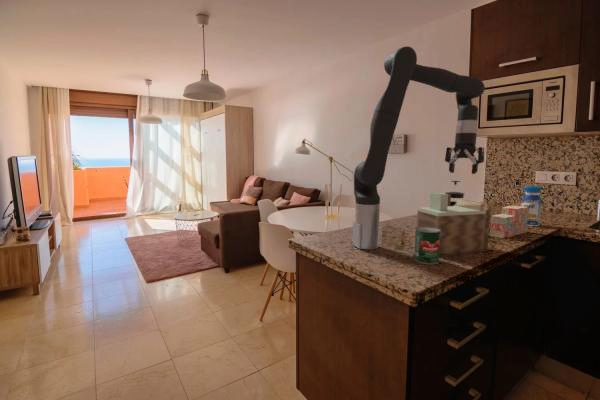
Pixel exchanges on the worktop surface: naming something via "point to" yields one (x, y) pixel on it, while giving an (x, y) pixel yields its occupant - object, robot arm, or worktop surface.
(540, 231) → the worktop surface
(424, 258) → the canned tomato
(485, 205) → the key bar
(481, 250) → the storage box
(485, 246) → the post
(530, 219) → the beverage bottle
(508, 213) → the stack of blocks
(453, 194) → the french press
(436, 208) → the lid
